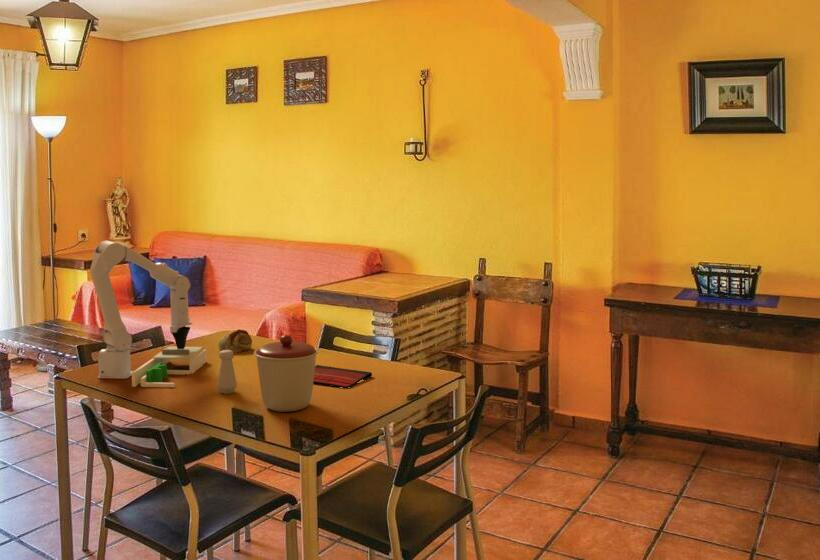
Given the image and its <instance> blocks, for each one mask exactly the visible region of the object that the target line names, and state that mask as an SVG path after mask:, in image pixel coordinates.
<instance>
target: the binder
mask: <svg viewBox="0 0 820 560" xmlns="http://www.w3.org/2000/svg"><path fill="white" fill-rule="evenodd" d="M366 376H372V377H373V373H372V372H370V371H365V370H364V371H363V370H358V369H357V370H356V369H348V368H342V367H341V368H339V367H334V366H333V367H332V366H326V365H321V364H320V365H319V364H315V371H314V381H313V383H314V384H313V385H320V384H322V385H321V386H327V385H332V386H331V387H334V386H337V387H343V388H348V387H351V388H353V387H355V386H357V385H358V384H357V382H359V381H360V380H362V379H365V378H367V377H366ZM356 384H357V385H356ZM354 385H355V386H354ZM352 386H353V387H352ZM337 387H336V388H337ZM343 388H342V389H343ZM348 389H349V388H348Z"/></svg>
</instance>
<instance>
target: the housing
mask: <svg viewBox="0 0 820 560" xmlns="http://www.w3.org/2000/svg"><path fill="white" fill-rule="evenodd" d="M188 361H189V363H188V364H189V370H188V369H187V370H186V369H167V375H185V374H187V375H188V376H189V375H194V374H195V372H197V371H198V370H199V369H200V368H201V367H203V366H204V365H205V364H206V363H207V349H202V350H201V351H199V352H198V353H197V354H195V355H194V356H193V357H192V358H190V359H189V360H188ZM159 362H162V365H167V364H168V363H169V362H171V359H153V357H152V358H151V359H150V360H148V361H146V362H145V363H144V364H142V365H141V366H139V367H138V368H136V369H135V370H132V371H133V372H132V375H131V386H132V387H134V388H135V387H137V386H138V385H139V384H140V387H143V388H175V382H146V371H147V370H149V369H150V368H151V367H153V366H154V365H156V364H157V363H159ZM203 364H204V365H203ZM196 370H197V371H196Z"/></svg>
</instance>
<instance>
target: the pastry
mask: <svg viewBox="0 0 820 560" xmlns="http://www.w3.org/2000/svg"><path fill="white" fill-rule="evenodd" d="M252 342H253V339H252V337H251V335H250V334H249V332H248V331H247V330H244V329H237V330H232V331H228V332H226V333H225V334H224V335H223V336H222V337H221V338H220V339H219V342H218V345H217V346H218V348H219V349H220V351H223V350H231V351H233V354H239V353H238V352H240V353H242V352H247V350H248V351H250V350H251V347H252Z"/></svg>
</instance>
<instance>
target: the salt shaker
mask: <svg viewBox="0 0 820 560" xmlns="http://www.w3.org/2000/svg"><path fill="white" fill-rule="evenodd" d="M234 354H235V353H233V351H231V350H223V351H222V350H220V351H219V354H218V358H219V359H220V365H219V369H218V370H219V371H218V376H217V377H218V378H217V389H218V391H219V392H220V394H222V393H224V394H223V395H230V394H229V393H231V394H233V393H234V392H235V390H236V388H237V379H236V374H235V370H234V364H233V359H234Z"/></svg>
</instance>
